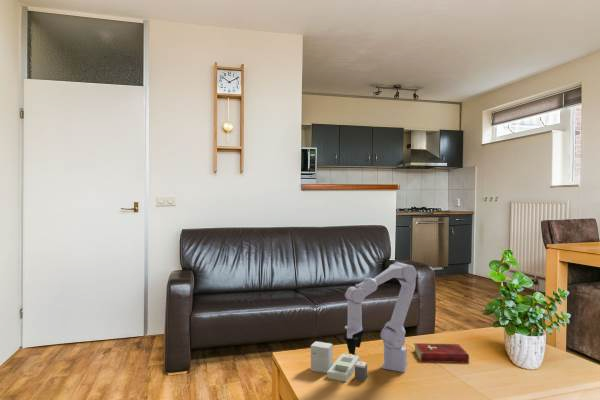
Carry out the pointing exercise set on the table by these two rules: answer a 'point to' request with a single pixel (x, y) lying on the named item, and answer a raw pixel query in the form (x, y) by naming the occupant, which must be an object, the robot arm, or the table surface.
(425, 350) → the hardcover book
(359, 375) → the plug
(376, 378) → the table surface
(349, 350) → the robot arm
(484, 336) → the table surface
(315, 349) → the small box
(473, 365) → the table surface
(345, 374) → the power strip
